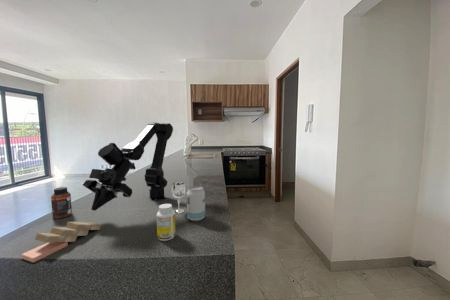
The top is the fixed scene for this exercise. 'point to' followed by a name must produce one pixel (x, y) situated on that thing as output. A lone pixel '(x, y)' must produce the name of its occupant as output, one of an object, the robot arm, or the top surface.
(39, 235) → the domino
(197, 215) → the beverage can
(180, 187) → the wineglass
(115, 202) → the top surface
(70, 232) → the domino
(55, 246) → the domino
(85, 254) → the top surface
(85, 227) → the domino
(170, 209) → the supplement bottle
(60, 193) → the supplement bottle
